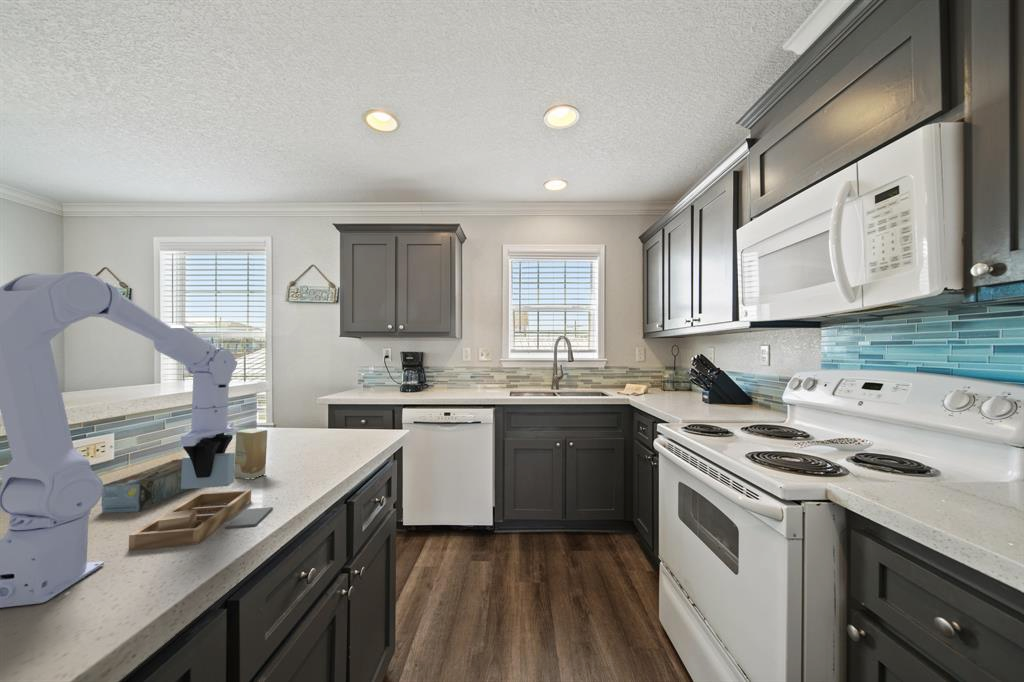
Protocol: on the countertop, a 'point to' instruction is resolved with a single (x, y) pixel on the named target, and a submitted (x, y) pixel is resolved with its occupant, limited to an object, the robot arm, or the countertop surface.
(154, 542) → the tray
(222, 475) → the pale blue block
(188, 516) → the offcut upper
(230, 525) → the mat
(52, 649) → the countertop surface
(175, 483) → the beverage carton
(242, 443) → the skincare box
